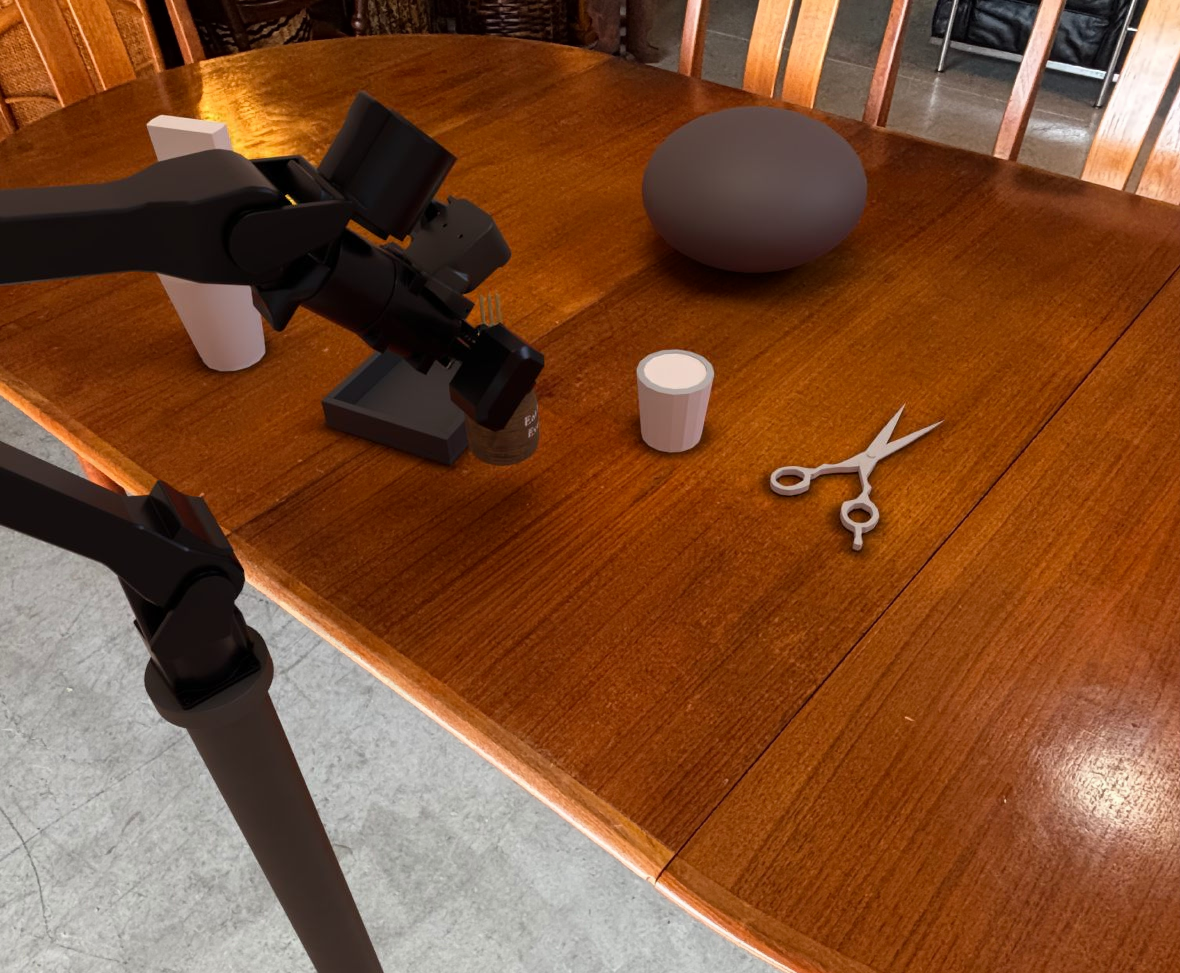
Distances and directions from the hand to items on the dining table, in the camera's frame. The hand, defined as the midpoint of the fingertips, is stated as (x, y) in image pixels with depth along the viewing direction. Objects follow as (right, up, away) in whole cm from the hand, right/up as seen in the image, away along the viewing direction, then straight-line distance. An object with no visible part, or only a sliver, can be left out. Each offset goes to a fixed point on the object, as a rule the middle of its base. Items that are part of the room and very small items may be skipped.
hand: (513, 372), depth 77 cm
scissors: (+31, -6, +11) cm, 33 cm away
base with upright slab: (-40, +27, +43) cm, 65 cm away
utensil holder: (-1, -5, +4) cm, 7 cm away
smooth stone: (+24, +22, +38) cm, 50 cm away
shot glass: (+14, -3, +15) cm, 20 cm away
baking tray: (-9, +1, +19) cm, 21 cm away
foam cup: (-31, +7, +24) cm, 40 cm away
